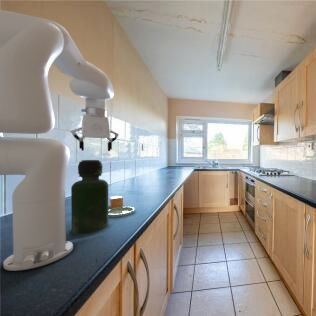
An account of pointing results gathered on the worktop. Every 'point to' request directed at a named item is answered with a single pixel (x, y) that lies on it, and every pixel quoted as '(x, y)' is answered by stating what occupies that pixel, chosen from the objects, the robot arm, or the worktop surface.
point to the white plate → (120, 211)
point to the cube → (116, 201)
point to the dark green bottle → (89, 199)
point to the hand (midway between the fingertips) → (96, 150)
